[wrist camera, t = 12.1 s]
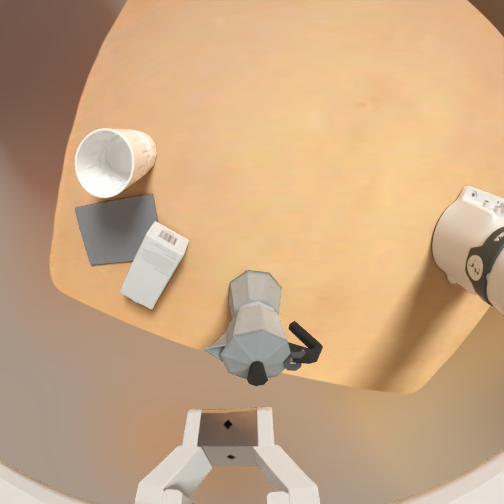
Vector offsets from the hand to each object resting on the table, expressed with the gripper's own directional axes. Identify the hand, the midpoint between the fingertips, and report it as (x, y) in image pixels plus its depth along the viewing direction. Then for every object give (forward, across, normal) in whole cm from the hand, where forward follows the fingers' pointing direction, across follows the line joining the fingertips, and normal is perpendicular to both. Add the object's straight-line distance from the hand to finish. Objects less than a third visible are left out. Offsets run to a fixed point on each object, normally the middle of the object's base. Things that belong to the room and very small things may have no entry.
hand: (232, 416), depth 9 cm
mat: (+33, -20, -3) cm, 39 cm away
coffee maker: (+33, +1, -16) cm, 37 cm away
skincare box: (+30, -10, -4) cm, 32 cm away
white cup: (+33, -15, +8) cm, 37 cm away
